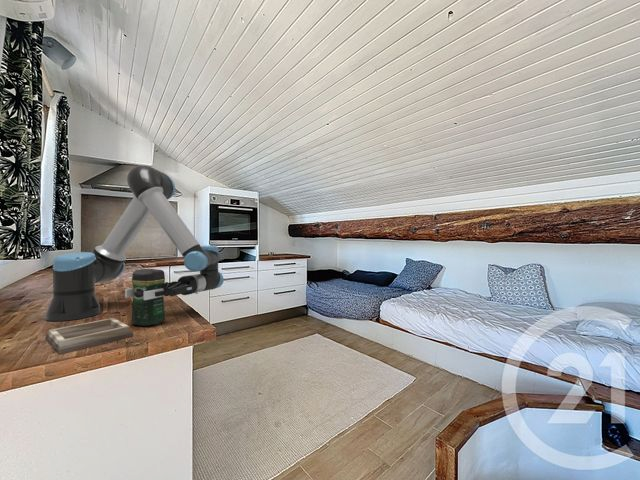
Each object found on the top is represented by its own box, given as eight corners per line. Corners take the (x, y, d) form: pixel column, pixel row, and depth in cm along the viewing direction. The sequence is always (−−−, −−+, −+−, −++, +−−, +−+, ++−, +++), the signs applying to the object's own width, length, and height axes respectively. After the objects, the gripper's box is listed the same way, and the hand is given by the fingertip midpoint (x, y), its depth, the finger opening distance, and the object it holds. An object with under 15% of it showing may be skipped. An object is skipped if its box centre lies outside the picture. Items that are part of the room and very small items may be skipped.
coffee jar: (169, 320, 96) (169, 268, 96) (149, 327, 88) (150, 270, 88) (147, 318, 99) (148, 267, 98) (126, 324, 91) (127, 269, 91)
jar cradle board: (45, 338, 79) (45, 328, 79) (112, 324, 92) (112, 316, 92) (59, 354, 68) (59, 343, 68) (132, 336, 81) (133, 327, 81)
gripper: (211, 296, 106) (157, 309, 85) (172, 291, 114) (114, 302, 93) (211, 276, 106) (157, 285, 85) (172, 273, 114) (114, 281, 93)
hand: (135, 294), depth 89 cm, fingers closed on coffee jar, 8 cm apart
